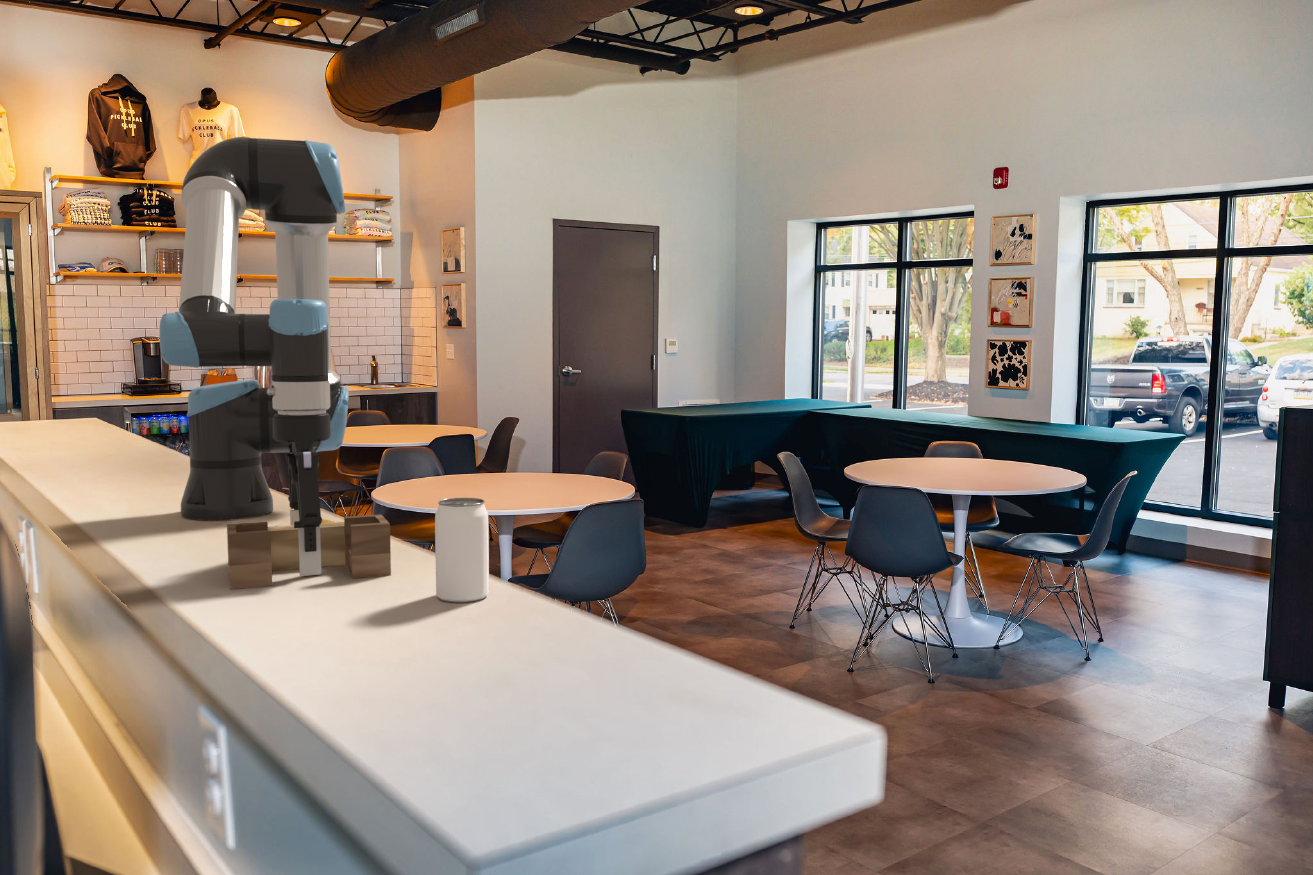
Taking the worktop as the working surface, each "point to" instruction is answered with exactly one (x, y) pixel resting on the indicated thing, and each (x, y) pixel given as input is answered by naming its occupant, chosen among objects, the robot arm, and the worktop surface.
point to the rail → (288, 545)
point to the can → (462, 550)
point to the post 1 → (249, 555)
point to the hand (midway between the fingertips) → (305, 564)
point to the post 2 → (367, 546)
